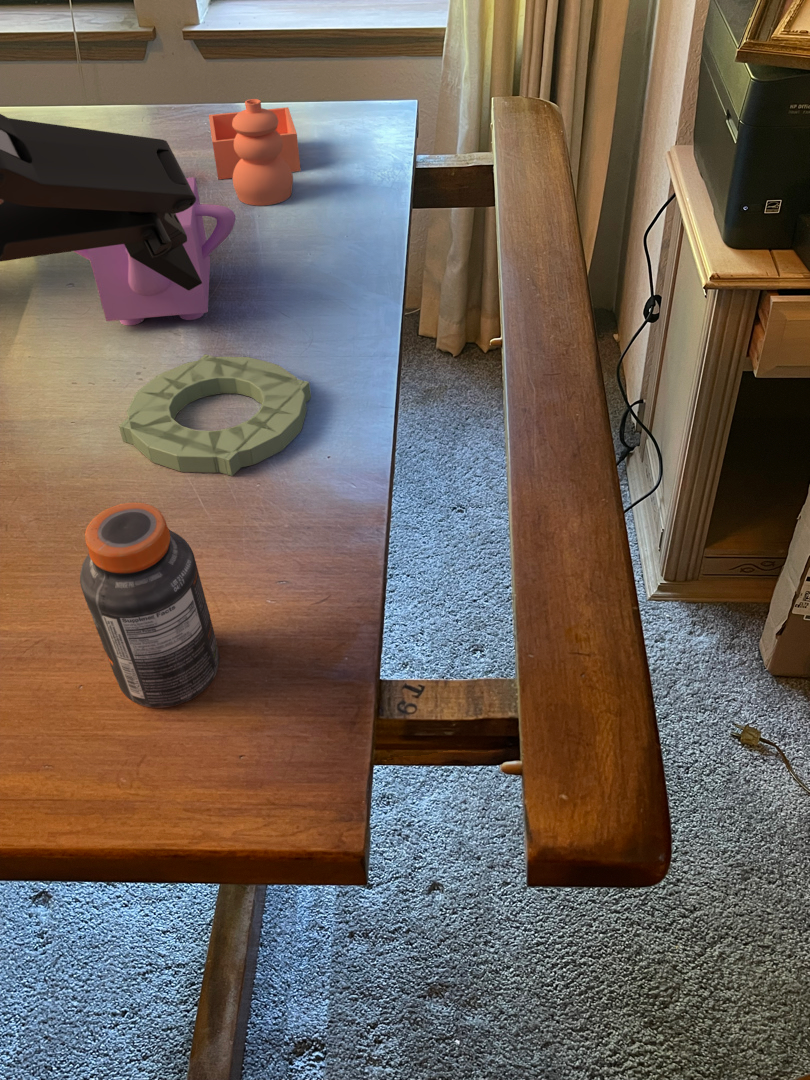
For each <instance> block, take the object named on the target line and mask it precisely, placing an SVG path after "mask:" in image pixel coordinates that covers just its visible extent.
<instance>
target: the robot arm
mask: <svg viewBox="0 0 810 1080" xmlns="http://www.w3.org/2000/svg"><path fill="white" fill-rule="evenodd" d="M186 178H187V177H186V175H185V173H184V171H183V170H182V167H181V166H180V164H179V162H178V160H177V158H176V155H175V154H174V152H173V150H172V148H171V147H170V144H169V142H168V141H167V140H165V139H161V138H154V137H149V136H148V137H147V136H140V135H134V134H133V135H132V134H127V133H126V134H125V133H119V132H111V131H104V130H97V129H89V128H82V127H76V126H75V127H74V126H69V125H63V124H62V125H61V124H53V123H47V122H39V121H34V120H33V121H32V120H24V119H17V118H10V117H7V116H6V115H4V114H2V113H0V262H8V261H14V260H21V259H28V258H35V257H42V256H49V255H56V254H62V253H70V252H74V251H78V250H85V249H92V248H99V247H106V246H113V245H120V244H124V245H125V247H126V249H127V251H128V253H129V255H130V257H132V258H133V259H135V260H137V261H139V262H140V263H142V264H144V265H145V266H147V267H149V268H151V269H152V270H154V271H156V272H157V273H159V274H161V275H163V276H164V277H166V278H168V279H169V280H171V281H173V282H175V283H176V284H178V285H180V286H181V287H183V288H185V289H186V290H188V291H189V290H191V289H193V288H195V287H196V286H198V285H200V284H202V281H201V279H200V277H199V275H198V273H197V271H196V270H195V268H194V266H193V264H192V262H191V260H190V258H189V256H188V254H187V252H186V250H185V248H184V246H183V244H184V243H185V242H187V235H186V233H185V231H184V229H183V227H182V225H181V223H180V221H179V219H178V217H177V216H176V214H175V213H179V212H183V211H185V210H187V209H188V208H190V207H191V206H192V205H193V204H194V203H195V202H196V197H195V195H194V193H193V191H192V189H191V187H190V185H189V183H188V181H187V179H186Z"/></svg>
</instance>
